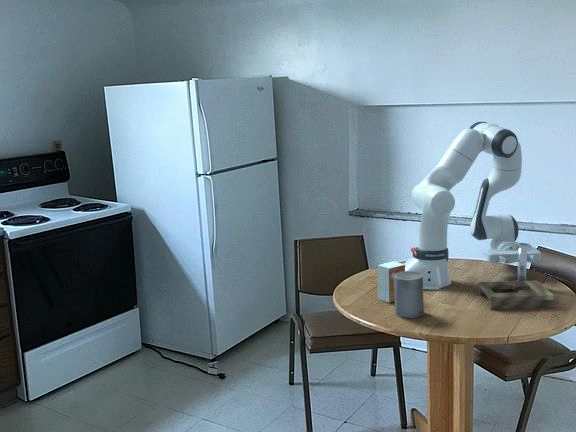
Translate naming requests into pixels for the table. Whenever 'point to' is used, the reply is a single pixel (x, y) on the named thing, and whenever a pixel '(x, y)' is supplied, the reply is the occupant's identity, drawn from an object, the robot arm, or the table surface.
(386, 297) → the small box
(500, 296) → the keyhole plate
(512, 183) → the robot arm
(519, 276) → the footed peg
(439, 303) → the table surface
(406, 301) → the pillar candle
